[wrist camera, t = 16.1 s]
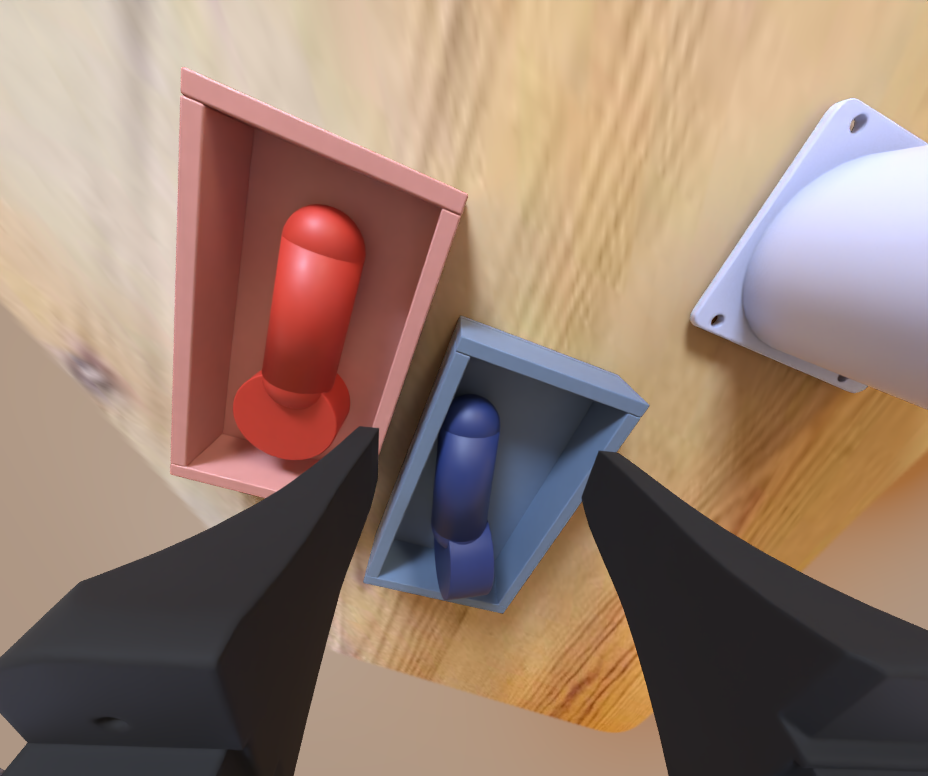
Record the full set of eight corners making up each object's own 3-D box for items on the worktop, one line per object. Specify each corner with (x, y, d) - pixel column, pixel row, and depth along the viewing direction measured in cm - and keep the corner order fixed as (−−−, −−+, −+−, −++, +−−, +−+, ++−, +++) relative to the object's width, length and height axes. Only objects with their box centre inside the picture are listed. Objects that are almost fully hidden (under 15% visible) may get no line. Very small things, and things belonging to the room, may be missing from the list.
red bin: (244, 101, 11) (179, 64, 8) (466, 199, 12) (469, 194, 10) (214, 435, 17) (169, 474, 14) (370, 478, 18) (355, 522, 15)
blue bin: (460, 314, 14) (461, 335, 12) (618, 374, 16) (650, 405, 13) (375, 535, 20) (362, 583, 17) (497, 565, 21) (503, 614, 18)
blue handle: (488, 381, 16) (434, 380, 16) (520, 414, 13) (452, 414, 12) (466, 550, 19) (421, 554, 19) (488, 615, 16) (432, 624, 15)
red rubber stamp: (287, 184, 12) (245, 175, 9) (399, 231, 12) (386, 233, 10) (253, 419, 16) (218, 453, 13) (340, 444, 16) (321, 481, 14)
